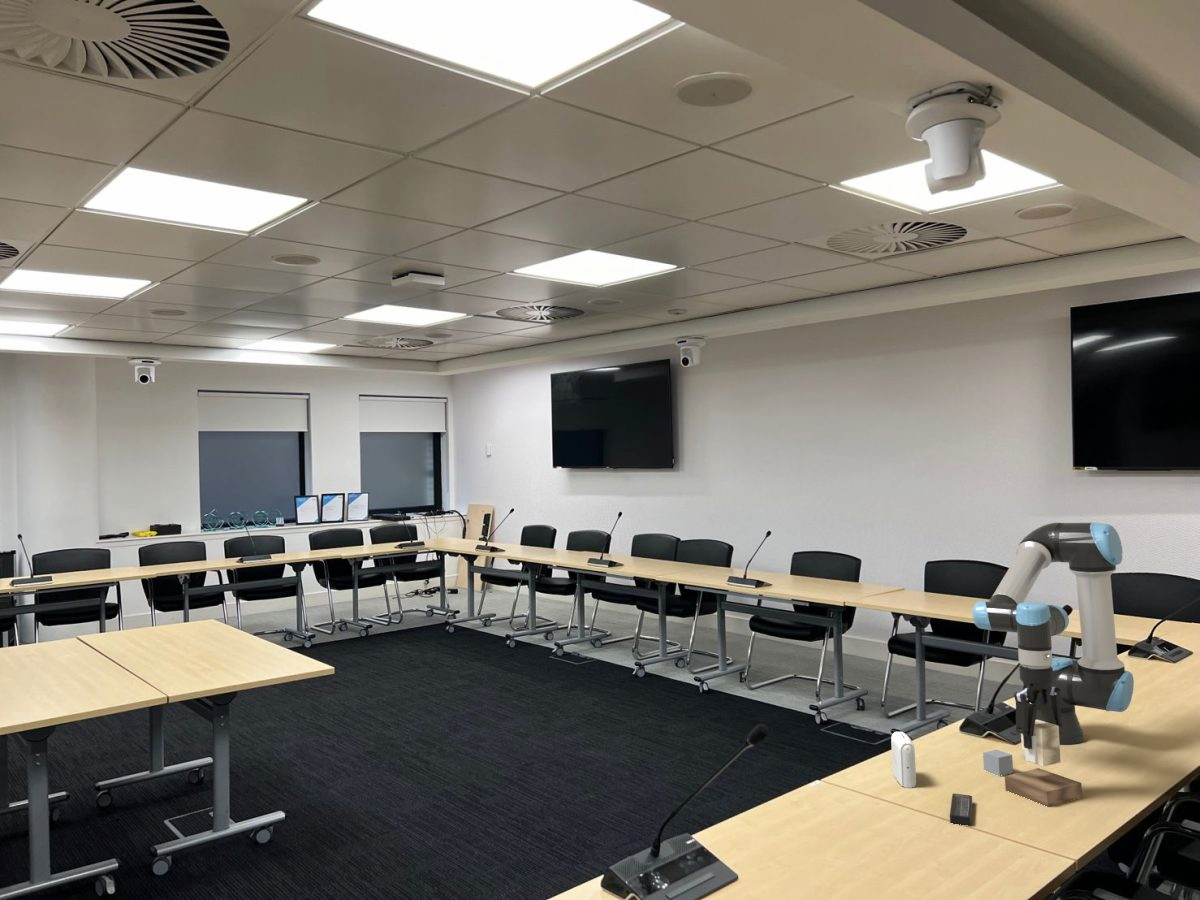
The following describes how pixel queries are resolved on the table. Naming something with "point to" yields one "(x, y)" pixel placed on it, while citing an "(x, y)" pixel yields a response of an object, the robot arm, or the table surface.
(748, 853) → the table surface
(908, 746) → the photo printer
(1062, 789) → the walnut base block
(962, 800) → the multiport hub
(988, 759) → the slate grey block
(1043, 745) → the ash block
